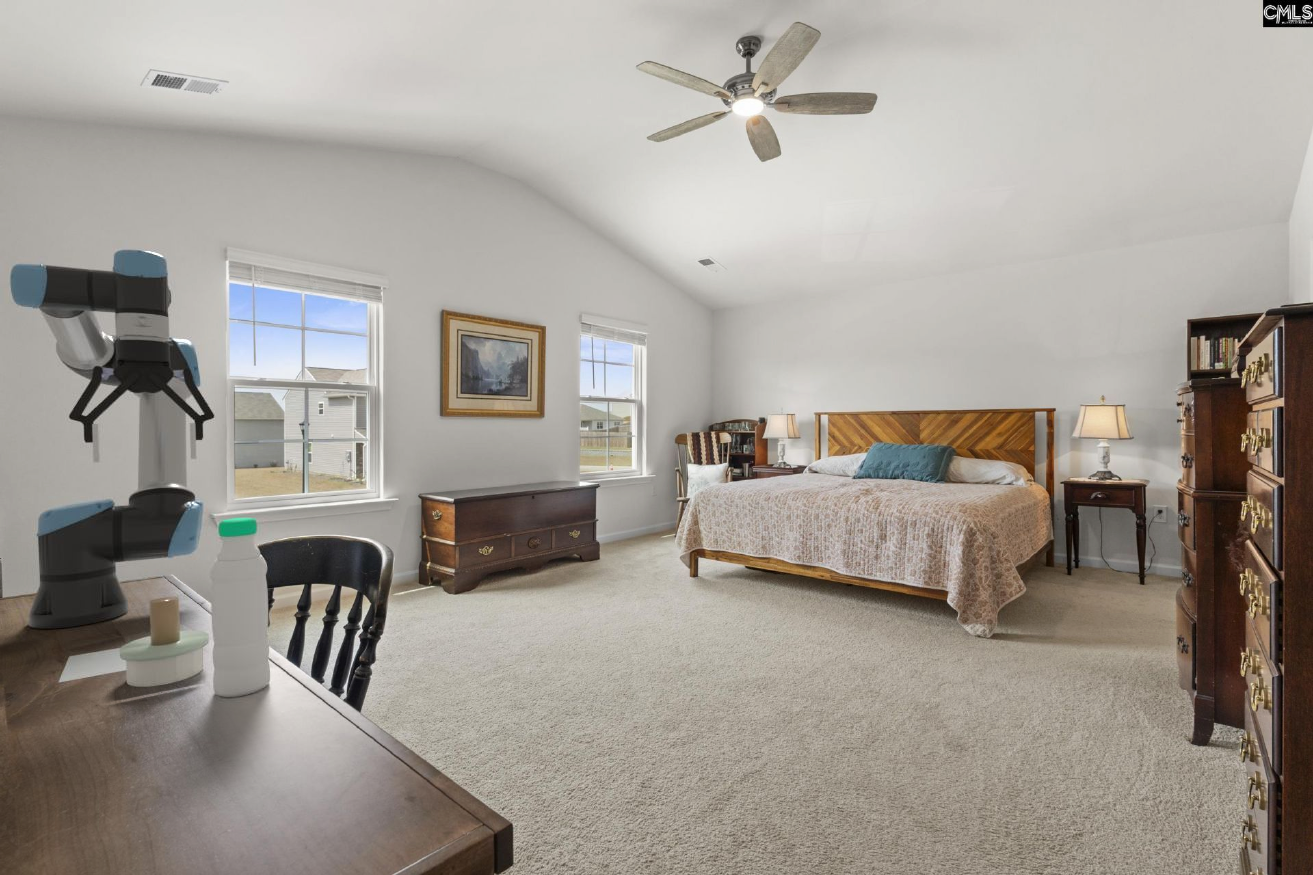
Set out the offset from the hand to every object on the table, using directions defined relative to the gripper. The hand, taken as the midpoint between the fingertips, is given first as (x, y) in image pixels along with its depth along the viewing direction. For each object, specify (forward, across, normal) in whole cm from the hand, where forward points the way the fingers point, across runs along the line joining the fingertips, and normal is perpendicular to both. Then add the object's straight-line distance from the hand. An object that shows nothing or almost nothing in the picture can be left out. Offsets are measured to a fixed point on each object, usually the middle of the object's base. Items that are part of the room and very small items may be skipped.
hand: (146, 460), depth 118 cm
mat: (+32, -4, -9) cm, 34 cm away
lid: (+28, +2, -22) cm, 36 cm away
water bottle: (+33, +11, -35) cm, 49 cm away
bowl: (+32, +2, -22) cm, 39 cm away
